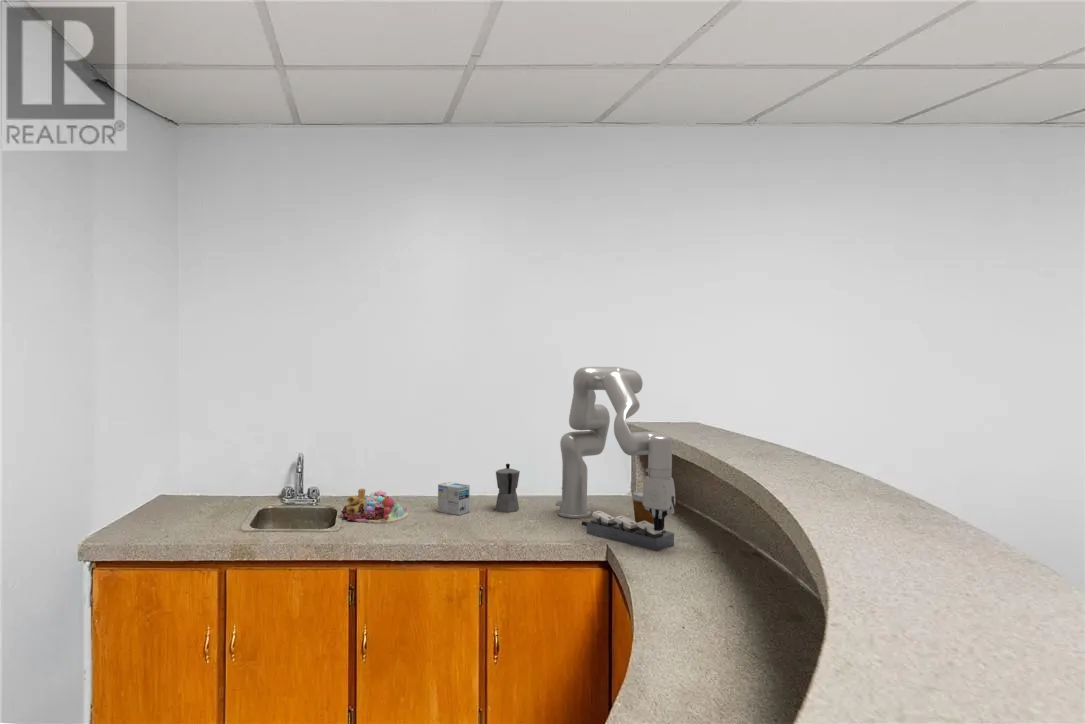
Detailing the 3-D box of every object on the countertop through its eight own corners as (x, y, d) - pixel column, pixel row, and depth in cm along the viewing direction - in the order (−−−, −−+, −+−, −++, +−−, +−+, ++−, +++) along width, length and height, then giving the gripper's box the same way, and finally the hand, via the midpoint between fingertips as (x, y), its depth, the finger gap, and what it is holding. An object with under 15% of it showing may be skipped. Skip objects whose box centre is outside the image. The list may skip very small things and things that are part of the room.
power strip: (573, 530, 265) (573, 513, 265) (591, 525, 272) (592, 508, 272) (656, 551, 241) (656, 532, 241) (673, 545, 248) (674, 527, 248)
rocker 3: (636, 526, 247) (637, 522, 247) (644, 523, 250) (645, 520, 250) (653, 534, 243) (654, 531, 242) (661, 532, 246) (662, 528, 246)
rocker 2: (613, 520, 254) (614, 517, 253) (621, 518, 257) (622, 515, 257) (629, 529, 249) (630, 525, 249) (637, 526, 252) (638, 523, 252)
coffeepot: (493, 505, 299) (494, 460, 298) (517, 505, 301) (517, 460, 300) (497, 515, 284) (498, 467, 283) (522, 514, 285) (522, 467, 285)
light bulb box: (470, 512, 288) (470, 484, 288) (458, 515, 282) (459, 487, 282) (448, 508, 294) (448, 480, 293) (437, 511, 288) (437, 483, 288)
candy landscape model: (330, 522, 271) (330, 496, 271) (354, 507, 294) (354, 483, 294) (397, 525, 268) (398, 499, 268) (416, 510, 291) (417, 486, 291)
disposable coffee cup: (656, 531, 265) (657, 497, 265) (629, 529, 267) (630, 495, 267) (658, 524, 275) (659, 491, 274) (632, 522, 277) (632, 490, 276)
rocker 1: (591, 515, 260) (592, 512, 260) (599, 513, 263) (600, 510, 263) (607, 523, 256) (608, 520, 255) (615, 521, 259) (616, 517, 259)
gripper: (634, 471, 246) (633, 527, 246) (672, 477, 235) (672, 536, 236) (647, 469, 251) (646, 523, 252) (686, 474, 241) (685, 532, 241)
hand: (659, 529), depth 244 cm, fingers closed
